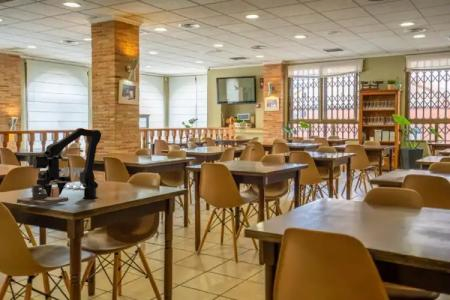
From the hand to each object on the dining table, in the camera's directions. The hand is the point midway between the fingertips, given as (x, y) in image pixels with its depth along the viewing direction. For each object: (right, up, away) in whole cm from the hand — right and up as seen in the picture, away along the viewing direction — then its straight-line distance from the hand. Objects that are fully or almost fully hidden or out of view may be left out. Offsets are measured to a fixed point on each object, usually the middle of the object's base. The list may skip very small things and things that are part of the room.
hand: (54, 196), depth 262 cm
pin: (-7, 0, +4) cm, 8 cm away
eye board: (-7, -3, +4) cm, 9 cm away
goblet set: (-9, 0, +62) cm, 63 cm away
